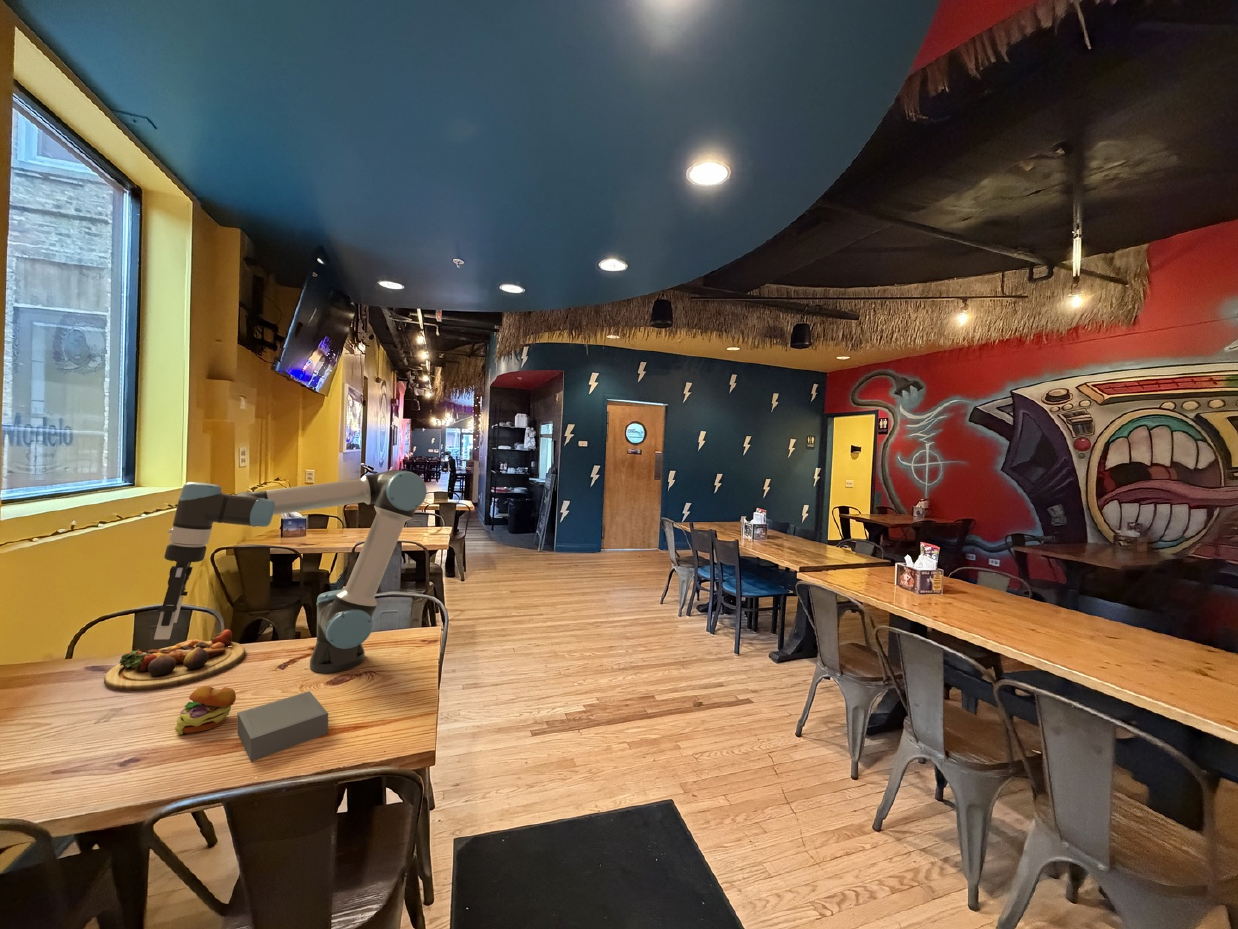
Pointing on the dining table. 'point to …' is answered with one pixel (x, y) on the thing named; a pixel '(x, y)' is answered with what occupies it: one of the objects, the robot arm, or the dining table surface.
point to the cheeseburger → (205, 709)
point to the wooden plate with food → (175, 664)
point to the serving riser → (281, 725)
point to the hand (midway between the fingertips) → (165, 630)
